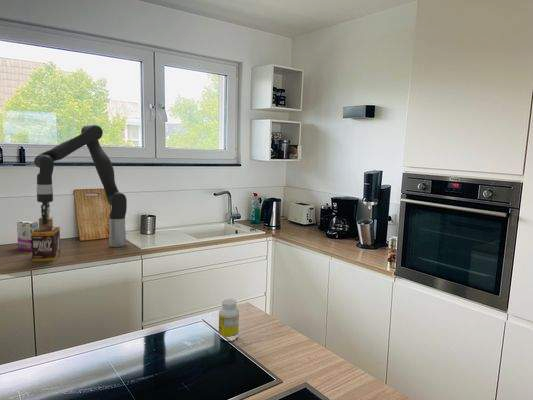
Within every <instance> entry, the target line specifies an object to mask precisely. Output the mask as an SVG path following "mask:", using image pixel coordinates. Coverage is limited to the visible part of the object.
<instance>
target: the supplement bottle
mask: <svg viewBox="0 0 533 400" xmlns="http://www.w3.org/2000/svg"><path fill="white" fill-rule="evenodd" d="M221 304H222V305H221V306H222V307H221V308H220V309H219V312H218V335H219V334H220V335H222V336H225V337H231V336H235V335H237V334H238V335H239V325H240V324H239V322H240V321H239V320H240V317H239V316H240V311H239V308H238V307H237V301H236V299H233V298H232V299H231V298H228V299H227V298H226V299H224V300H222V303H221Z"/></svg>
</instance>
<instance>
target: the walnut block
mask: <svg viewBox="0 0 533 400" xmlns="http://www.w3.org/2000/svg"><path fill="white" fill-rule="evenodd" d="M53 218H54V217H52V216H49V217H47V224H43V221H42V216H41V217H39V219H38V228H39V231H43V230H52V229H53V227H54V222H53V221H54V219H53Z"/></svg>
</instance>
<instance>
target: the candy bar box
mask: <svg viewBox="0 0 533 400" xmlns="http://www.w3.org/2000/svg"><path fill="white" fill-rule="evenodd" d="M16 226H17V229H16V230H17V233H16V234H17V249H18V250H23V251H26V252H27V251H28V252H32V234H31V233H32V232H33V231H35V230H36V229H37V228H39V221H34V220H33V221H32V220H26V219H25V220H19V221H18V220H17V221H16Z"/></svg>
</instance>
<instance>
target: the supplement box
mask: <svg viewBox="0 0 533 400" xmlns="http://www.w3.org/2000/svg"><path fill="white" fill-rule="evenodd" d="M60 231H61V227H60V226H53V229H52V230H43V231H39V227H38V228H37V229H36V230H35V231H33V232H32V233H31V234H32V251H31V254H32V258H31V259H32V262H33V261H35V262H54V261H55V260H56V259H57V257H59V255H60V254H61V233H60Z"/></svg>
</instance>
